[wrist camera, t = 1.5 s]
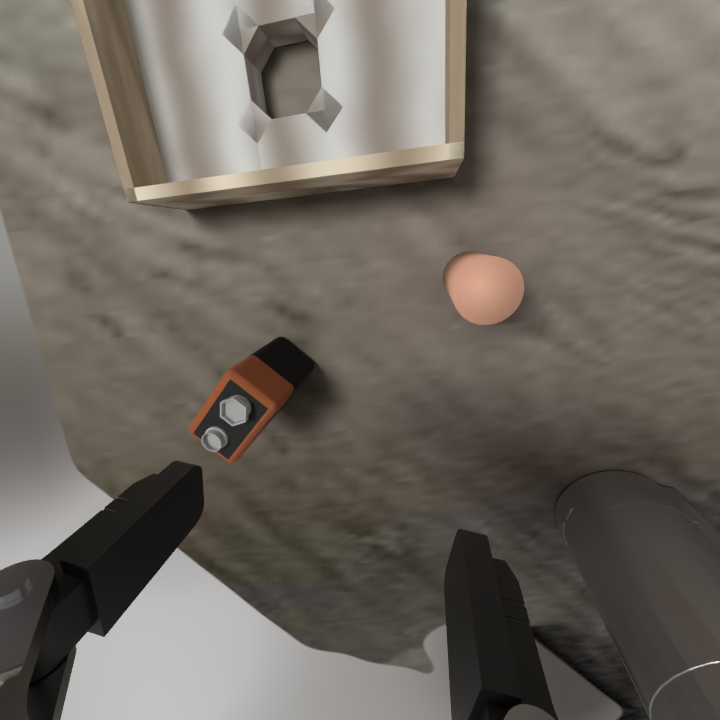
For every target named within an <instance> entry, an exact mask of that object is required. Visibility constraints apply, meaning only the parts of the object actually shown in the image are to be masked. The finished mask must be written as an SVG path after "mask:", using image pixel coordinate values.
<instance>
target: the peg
mask: <svg viewBox="0 0 720 720" xmlns="http://www.w3.org/2000/svg"><path fill="white" fill-rule="evenodd" d="M443 282H444V285H445V288H446V290H447V291H448V293H449V295H450V297H451V299H452V301H453V303H454V305H455V307H456V309H457V311H458V312H459V313H460V314H461V316H462V317H464V318H465V319H466V320H468V321H470V322H472V323H475V324H479V325H491V324H496V323H499V322H501V321H503V320H505V319H506V318H508V317H509V316H511V315H512V314H513V313H514V312H515V311H516V309H517V308H518V307H519V305H520V303H521V301H522V298H523V295H524V280H523V277H522V274H521V272H520V271H519V269H518V268H517V267H516V266H515V265H514V264H513V263H512V262H510V261H508V260H506V259H504V258H501V257H496V256H491V255H485V254H480V253H475V252H463V253H460V254H458V255H456V256H454V257H453V258H452V259H451V260H450V261H449V262H448V263H447V265H446V267H445V269H444V273H443Z"/></svg>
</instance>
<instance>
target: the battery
mask: <svg viewBox="0 0 720 720" xmlns="http://www.w3.org/2000/svg"><path fill="white" fill-rule="evenodd" d="M313 368H314V362H313V361H311V360H310V359H309V358H308V357H307V356H305V355H304V354H303V353H302V352H300V351H299V350H298V349H297V348H295V347H294V346H293V345H292V344H290V343H289V342H288V341H287V340H285V339H284V338H283V337H278V338H276V339H274V340H273V341H271V342H270V343H268V344H267V345H265V346H264V347H262V348H261V349H259V350H258V351H256V352H255V353H253V354H252V355H250V356H249V357H247V358H245V359H244V360H242V361H241V362H239V363H238V364H236V365H235V366H233V367H232V368H230V369H229V370H227V371H226V373H225V374H224V375H223V377H222V378H221V380H220V381H219V383H218V384H217V386H216V387H215V389H214V390H213V392H212V393H211V395H210V396H209V398H208V399H207V401H206V402H205V404H204V405H203V407H202V408H201V410H200V411H199V413H198V414H197V416H196V417H195V419H194V420H193V422H192V423H191V425H190V427H189V432H190V433H191V434H192V435H193V436H195V437H196V438H197V439H198V440H200V441H201V442H202V444H203V446H204V447H205V448H206V449H207V450H209V451H212V452H216V453H217V454H218V455H220V456H221V457H222V458H224V459H225V460H226V461H228V462H229V463H233V462H235V461H237V460H238V459H239V458H240V456H241V455H242V454H243V453H244V452H245V451H246V449H247V448H248V447H249V446H250V445H251V443H252V442H253V441H254V440H255V439H256V438H257V436H258V435H259V434H260V433H261V432H262V431H263V429H264V428H265V427H266V426H267V425H268V423H269V422H270V421H271V420H272V419H273V418H274V416H275V415H276V414H277V413H278V412H279V411H280V409H281V408H282V407H283V406H284V404H285V403H286V402H287V401H288V399H289V398H290V397H291V396H292V395H293V393H294V392H295V391H296V390H297V388H298V387H299V386H300V385H301V383H302V382H303V381H304V380H305V378H306V377H307V376H308V375H309V373H310V372H311V371H312V370H313Z"/></svg>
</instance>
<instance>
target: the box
mask: <svg viewBox="0 0 720 720" xmlns="http://www.w3.org/2000/svg"><path fill="white" fill-rule="evenodd" d="M71 3H72V7H73V10H74V14H75V17H76V21H77V24H78V28H79V32H80V35H81V39H82V42H83V46H84V49H85V53H86V57H87V60H88V64H89V67H90V71H91V74H92V78H93V81H94V85H95V89H96V92H97V96H98V99H99V103H100V106H101V110H102V114H103V117H104V121H105V124H106V128H107V131H108V135H109V138H110V142H111V146H112V149H113V153H114V156H115V160H116V163H117V167H118V171H119V174H120V178H121V181H122V185H123V188H124V192H125V196H126V199H127V202H129V203H137V204H144V205H151V206H159V207H166V208H173V209H181V210H192V209H200V208H208V207H216V206H225V205H233V204H241V203H249V202H257V201H266V200H274V199H282V198H290V197H298V196H307V195H315V194H323V193H331V192H339V191H348V190H356V189H364V188H372V187H380V186H388V185H397V184H405V183H413V182H421V181H429V180H438V179H446V178H454V177H455V175H456V173H457V171H458V169H459V167H460V165H461V163H462V161H463V159H464V131H465V69H466V8H467V0H71ZM307 40H308V41H309V42H310V43H311V44H312V45H313V46H314V47H315V48H316V49H317V50H318V51H319V61H320V72H321V82H322V88H321V89H320V91H319V92H318V94H317V96H316V97H315V99H314V101H313V102H312V104H311V106H310V107H309V109H308V111H307V112H306V113H305V114H299V115H293V116H287V117H282V118H276V119H272V118H271V117H270V116H269V115H268V114H267V110H266V103H265V97H264V90H263V83H262V76H261V72H262V70H263V69H264V67H265V65H266V63H267V61H268V59H269V57H270V55H271V53H272V52H273V50H274V48H275V47H279V46H284V45H289V44H293V43H298V42H302V41H307Z"/></svg>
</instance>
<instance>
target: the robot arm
mask: <svg viewBox="0 0 720 720" xmlns="http://www.w3.org/2000/svg"><path fill="white" fill-rule="evenodd" d="M203 507H204V494H203V477H202V469H201V467H200V466H197V465H193V464H189V463H185V462H181V461H174V462H172V463H171V464H170V465H168V466H167V467H166V468H165V469H164V470H163V471H162V472H160V473H159V474H158V475H157V474H152V475H150V476H148V477H146V478H144V479H142V480H140V481H138V482H136V483H134V484H133V485H131V486H130V487H129V488H128V489H127V490H125V491H124V492H123V493H122V494H121V495H119V496H118V499H114V500H113V501H112V502H111V503H110V504H109V505H107V506H106V507H105V509H104V510H103V511H100V512H99V513H98V514H96V515H95V516H94V517H93V518H92V519H90V520H89V521H88V522H87V523H85V524H84V525H83V526H82V527H81V528H79V529H78V530H77V531H76V532H75V533H73V534H72V535H71V536H70V537H69V538H67V539H66V540H65V541H64V542H62V543H61V544H60V545H59V546H58V547H57V548H55V549H54V550H53V551H51V552H50V553H49V554H48V555H46V556H45V557H44V558H43V559H41V560H28V561H23V562H20V563H17V564H14V565H11V566H9V567H6V568H4V569H2V570H0V720H60V719H61V714H62V710H63V706H64V701H65V697H66V693H67V689H68V684H69V680H70V676H71V672H72V667H73V663H74V659H75V655H76V644H77V643H78V642H79V641H80V639H81V638H82V637H83V636H84V635H85V634H86V632H87V631H88V632H91V633H94V634H97V635H100V636H103V637H104V636H105V635H106V634H107V633H108V632H109V630H110V629H111V628H112V627H113V625H114V624H115V623H116V622H117V620H118V619H119V618H120V617H121V616H122V614H123V613H124V612H125V611H126V610H127V608H128V607H129V606H130V605H131V603H132V602H133V601H134V600H135V598H136V597H137V596H138V595H139V593H140V592H141V591H142V590H143V589H144V587H145V586H146V585H147V584H148V582H149V581H150V580H151V579H152V578H153V576H154V575H155V574H156V573H157V571H158V570H159V569H160V568H161V567H162V565H163V564H164V563H165V561H166V560H167V559H168V558H169V557H170V556H171V554H172V553H173V552H174V550H175V549H176V548H177V547H178V546H179V544H180V543H181V542H182V541H183V540H184V538H185V537H186V536H187V535H188V533H189V532H190V531H191V530H192V529H193V527H194V526H195V525H196V523H197V522H198V520H199V518H200V516H201V514H202V511H203ZM555 519H556V522H557V525H558V527H559V529H560V532H561V534H562V536H563V539H564V541H565V543H566V545H567V546H568V548H569V550H570V552H571V555H572V557H573V559H574V561H575V563H576V565H577V567H578V570H579V572H580V574H581V576H582V578H583V580H584V582H585V584H586V586H587V588H588V590H589V592H590V594H591V597H592V599H593V601H594V603H595V605H596V607H597V609H598V611H599V613H600V615H601V617H602V619H603V622H604V624H605V626H606V628H607V630H608V632H609V634H610V636H611V638H612V640H613V642H614V644H615V647H616V649H617V651H618V653H619V655H620V657H621V659H622V661H623V663H624V665H625V667H626V669H627V671H628V674H629V676H630V678H631V680H632V682H633V684H634V686H635V688H636V690H637V692H638V694H639V696H640V699H641V701H642V703H643V705H644V707H645V709H646V711H647V713H648V715H649V717H650V719H651V720H720V532H719V531H718V530H717V529H716V528H715V527H714V526H713V525H712V524H711V523H710V522H708V521H707V520H706V519H705V518H704V517H703V516H702V515H701V514H700V513H699V512H698V511H697V510H696V509H695V508H694V507H693V506H692V505H691V504H690V503H689V502H688V501H687V500H686V499H685V498H684V497H683V496H682V495H681V494H680V493H679V492H678V491H677V490H676V489H675V488H672V487H662V486H659V485H658V484H656V483H655V482H653V481H652V480H650V479H649V478H646V477H644V476H642V475H639V474H636V473H631V472H627V471H605V472H598V473H595V474H591V475H588V476H586V477H583V478H581V479H579V480H577V481H576V482H574V483H573V484H571V485H570V486H569V487H568V488H567V489H566V490H565V491H564V492H563V493H562V494H561V496H560V498H559V499H558V501H557V504H556V508H555ZM444 593H445V610H446V627H447V645H448V661H449V680H450V697H451V714H452V720H558V718H557V715H556V713H555V710H554V707H553V705H552V701H551V697H550V694H549V690H548V686H547V683H546V679H545V676H544V672H543V669H542V665H541V661H540V658H539V654H538V650H537V647H536V643H535V640H534V636H533V632H532V629H531V627H530V625H529V623H530V622H529V618H528V614H527V611H526V608H525V607H524V600H523V596H522V593H521V589H520V586H519V582H518V580H517V579H516V577H515V575H514V574H513V572H512V571H511V569H510V568H509V566H508V565H507V563H506V561H503V560H499V559H495V558H492V555H491V550H490V545H489V541H488V538H487V536H486V535H484V534H479V533H475V532H471V531H467V530H463V529H458V531H457V533H456V536H455V540H454V543H453V546H452V550H451V553H450V556H449V560H448V563H447V567H446V572H445V583H444Z"/></svg>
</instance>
